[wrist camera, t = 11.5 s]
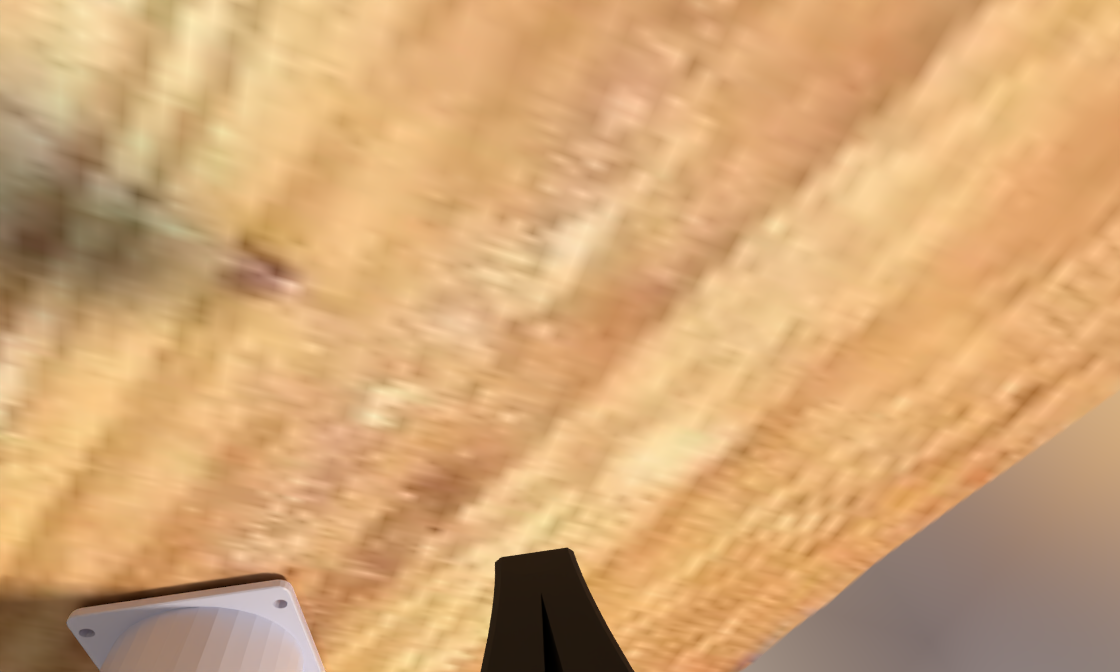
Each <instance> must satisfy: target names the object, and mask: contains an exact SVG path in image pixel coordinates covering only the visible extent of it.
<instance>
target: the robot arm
mask: <svg viewBox="0 0 1120 672" xmlns="http://www.w3.org/2000/svg"><path fill="white" fill-rule="evenodd" d="M66 624H67V626H68V628H69V629H70V630H71V632H72V633H73V634H74V636H75V637H76V639H77V640H78V641H79V643H80V644H81V646H82V647H83V648H84V650H85V651H86V653H87V654H88V655H89V657H90V658H91V659H92V661H93V662H94V664H95V665H96V666H97V668H98V669H99V672H326V671H325V669H324V666H323V664H322V661H321V659H320V656H319V653H318V651H317V648H316V646H315V643H314V641H313V638H312V635H311V633H310V630H309V628H308V625H307V623H306V620H305V617H304V615H303V612H302V610H301V607H300V605H299V602H298V599H297V597H296V594H295V592H294V589H293V587H292V585H291V584H290V583H289V582H287V581H286V580H281V579H279V580H270V581H263V582H256V583H249V584H242V585H235V586H229V587H222V588H215V589H208V590H201V591H194V592H187V593H180V594H174V595H167V596H160V597H153V598H146V599H139V600H132V601H125V602H118V603H112V604H105V605H98V606H91V607H84V608H79V609H76V610H74V611H73V612H72V613H71V614H70V616H69V617H68V619H67V622H66ZM481 672H634V670H633V669H632V667H631V666H630V664H629V662H628V660H627V659H626V657H625V655H624V654H623V652H622V650H621V649H620V647H619V645H618V643H617V642H616V640H615V638H614V637H613V635H612V633H611V631H610V630H609V628H608V626H607V624H606V622H605V620H604V619H603V617H602V615H601V613H600V611H599V609H598V607H597V605H596V603H595V601H594V599H593V597H592V595H591V593H590V591H589V589H588V587H587V585H586V582H585V580H584V578H583V576H582V573H581V571H580V568H579V566H578V563H577V561H576V558H575V555H574V552H573V551H572V550H570V549H569V548H562V549H555V550H548V551H541V552H534V553H528V554H521V555H514V556H507V557H501V558H500V559H499V560H497V561H496V562H495V587H494V599H493V607H492V614H491V620H490V627H489V633H488V639H487V643H486V648H485V653H484V658H483V663H482V668H481Z"/></svg>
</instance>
